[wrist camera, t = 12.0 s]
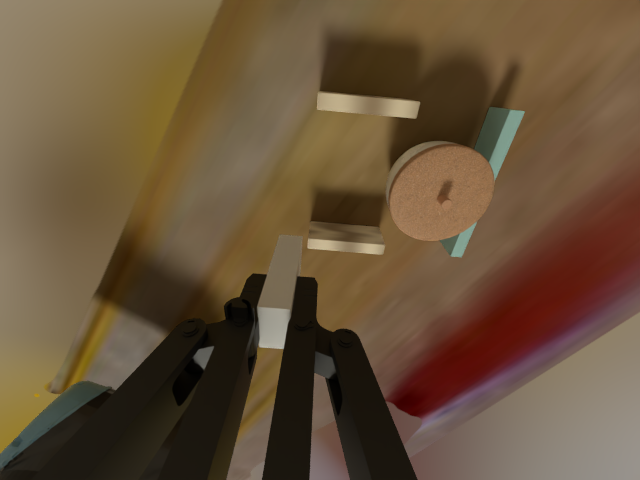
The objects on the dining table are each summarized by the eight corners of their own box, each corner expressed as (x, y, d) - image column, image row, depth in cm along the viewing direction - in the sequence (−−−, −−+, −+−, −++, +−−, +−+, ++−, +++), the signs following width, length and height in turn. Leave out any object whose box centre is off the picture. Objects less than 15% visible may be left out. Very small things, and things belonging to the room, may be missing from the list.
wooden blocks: (309, 230, 39) (307, 248, 35) (319, 90, 30) (318, 92, 25) (376, 235, 39) (382, 254, 35) (407, 99, 30) (420, 101, 26)
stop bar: (439, 241, 39) (450, 256, 36) (489, 106, 30) (510, 110, 27) (449, 242, 39) (461, 257, 36) (502, 108, 30) (524, 111, 27)
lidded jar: (361, 172, 34) (371, 199, 26) (436, 111, 30) (474, 122, 22) (406, 227, 38) (426, 265, 30) (477, 179, 34) (522, 209, 26)
